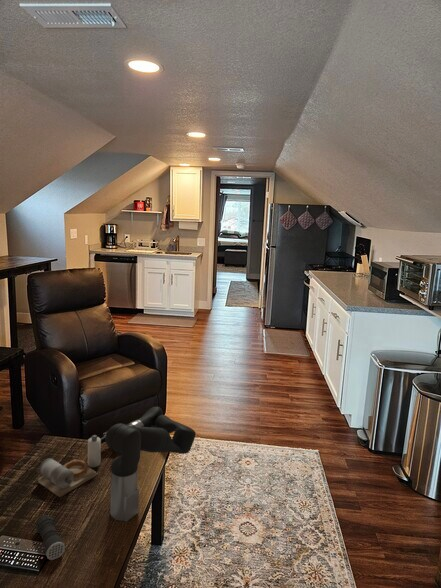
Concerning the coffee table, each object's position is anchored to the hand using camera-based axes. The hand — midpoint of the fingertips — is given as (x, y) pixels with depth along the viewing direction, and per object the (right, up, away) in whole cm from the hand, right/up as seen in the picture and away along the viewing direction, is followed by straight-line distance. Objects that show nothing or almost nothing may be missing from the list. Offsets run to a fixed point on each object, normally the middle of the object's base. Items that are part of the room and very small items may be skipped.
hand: (105, 445), depth 179 cm
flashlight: (-5, -15, -46) cm, 49 cm away
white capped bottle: (-4, -6, -4) cm, 8 cm away
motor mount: (-11, -8, -15) cm, 20 cm away
